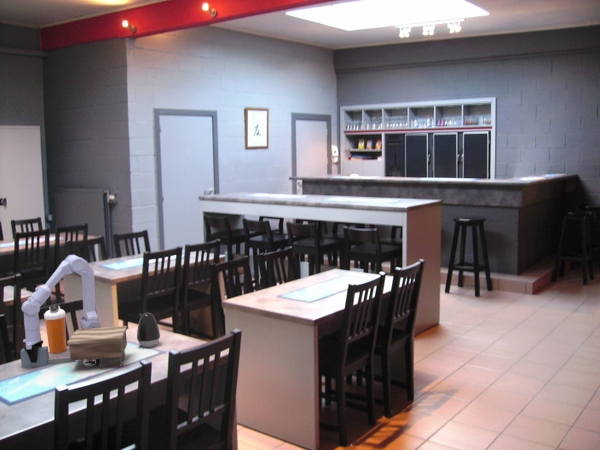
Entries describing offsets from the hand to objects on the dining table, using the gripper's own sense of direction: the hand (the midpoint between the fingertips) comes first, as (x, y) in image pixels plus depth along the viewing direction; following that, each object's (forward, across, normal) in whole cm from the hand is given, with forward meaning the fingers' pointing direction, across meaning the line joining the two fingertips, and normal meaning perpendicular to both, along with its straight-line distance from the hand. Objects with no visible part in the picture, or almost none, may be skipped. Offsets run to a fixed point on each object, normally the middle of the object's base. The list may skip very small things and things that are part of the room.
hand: (35, 360), depth 261 cm
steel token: (+2, +4, +22) cm, 23 cm away
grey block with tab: (+2, 0, +5) cm, 6 cm away
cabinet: (+2, +4, +27) cm, 27 cm away
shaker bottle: (+2, -17, +5) cm, 18 cm away
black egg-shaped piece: (+2, -15, +45) cm, 47 cm away
